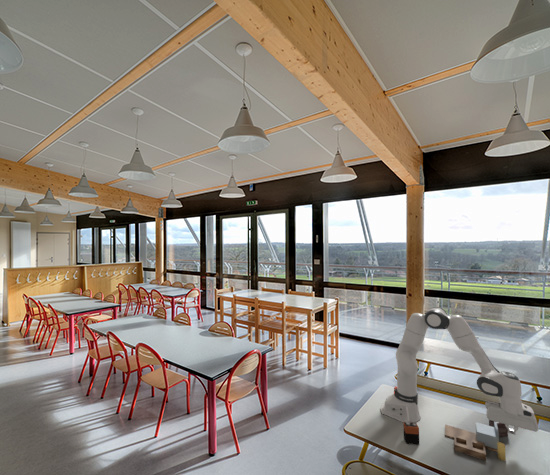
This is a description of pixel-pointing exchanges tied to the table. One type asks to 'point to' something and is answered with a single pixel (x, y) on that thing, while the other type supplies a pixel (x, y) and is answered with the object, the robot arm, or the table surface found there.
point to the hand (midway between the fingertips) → (511, 433)
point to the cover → (487, 434)
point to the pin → (501, 451)
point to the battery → (411, 433)
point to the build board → (470, 447)
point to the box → (500, 428)
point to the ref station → (463, 434)
